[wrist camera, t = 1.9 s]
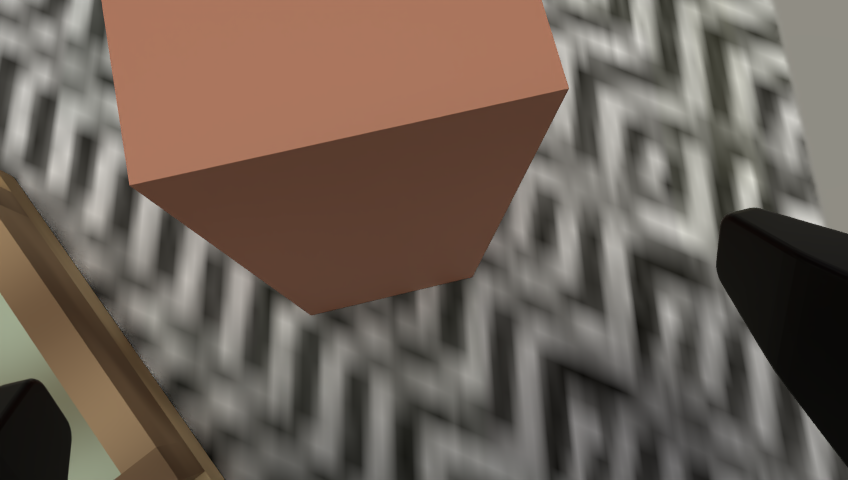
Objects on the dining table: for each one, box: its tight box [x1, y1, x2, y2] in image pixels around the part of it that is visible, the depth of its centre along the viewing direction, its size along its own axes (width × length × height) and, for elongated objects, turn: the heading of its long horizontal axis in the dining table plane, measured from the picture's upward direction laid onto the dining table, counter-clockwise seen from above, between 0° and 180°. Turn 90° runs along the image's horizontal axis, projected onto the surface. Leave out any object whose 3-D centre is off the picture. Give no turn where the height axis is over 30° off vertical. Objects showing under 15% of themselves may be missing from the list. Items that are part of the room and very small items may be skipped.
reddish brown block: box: [102, 0, 569, 315], centre depth 14 cm, size 5×5×13 cm
